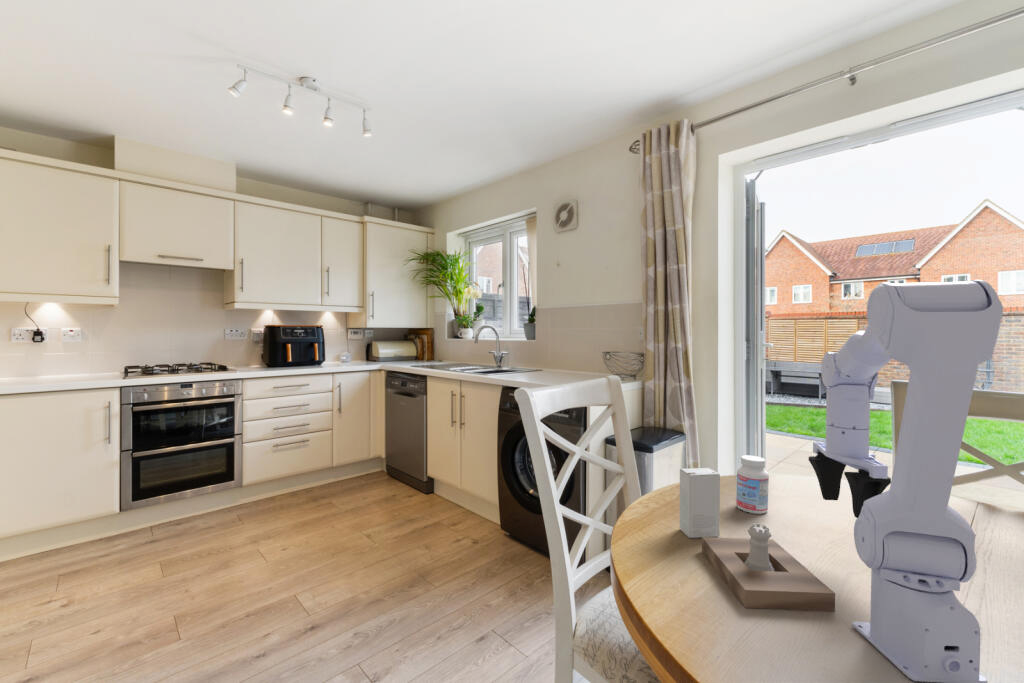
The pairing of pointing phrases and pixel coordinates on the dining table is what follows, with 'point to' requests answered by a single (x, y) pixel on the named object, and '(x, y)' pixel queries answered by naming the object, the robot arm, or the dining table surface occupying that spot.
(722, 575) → the socket board
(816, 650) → the dining table surface
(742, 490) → the pill bottle
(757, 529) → the rook chess piece
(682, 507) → the skincare box
